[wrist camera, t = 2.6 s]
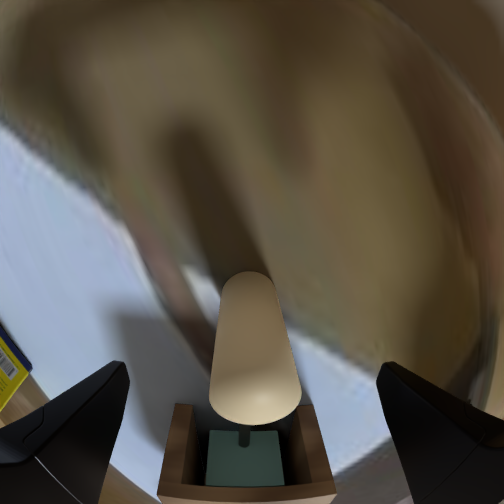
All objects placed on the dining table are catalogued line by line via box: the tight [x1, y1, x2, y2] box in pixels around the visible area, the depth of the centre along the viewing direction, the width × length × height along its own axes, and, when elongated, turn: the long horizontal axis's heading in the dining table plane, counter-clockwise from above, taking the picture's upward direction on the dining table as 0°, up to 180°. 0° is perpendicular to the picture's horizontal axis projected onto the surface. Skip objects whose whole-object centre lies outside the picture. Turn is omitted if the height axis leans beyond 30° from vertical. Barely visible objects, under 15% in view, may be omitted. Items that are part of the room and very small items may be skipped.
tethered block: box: [206, 271, 302, 488], centre depth 13 cm, size 5×18×7 cm, turn 178°
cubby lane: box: [157, 404, 337, 504], centre depth 15 cm, size 9×12×7 cm
